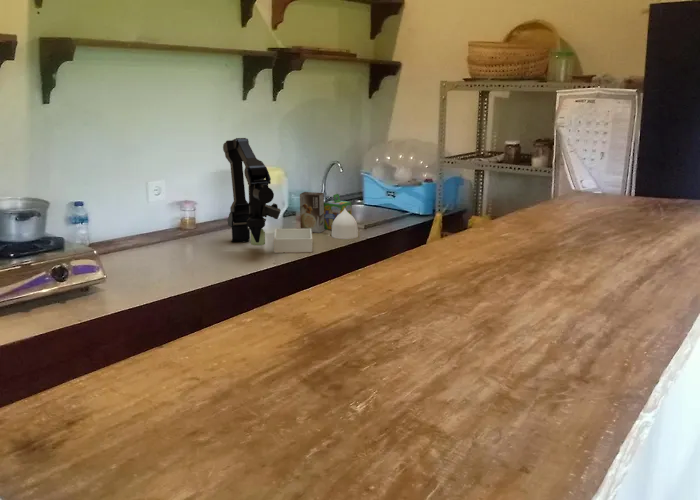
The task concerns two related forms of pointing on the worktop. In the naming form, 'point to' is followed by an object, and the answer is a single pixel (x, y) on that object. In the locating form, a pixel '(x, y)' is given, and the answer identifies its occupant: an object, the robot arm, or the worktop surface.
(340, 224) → the teardrop
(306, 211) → the coffee box
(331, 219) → the chalk box
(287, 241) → the serving bin
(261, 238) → the salad portion
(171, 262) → the worktop surface
